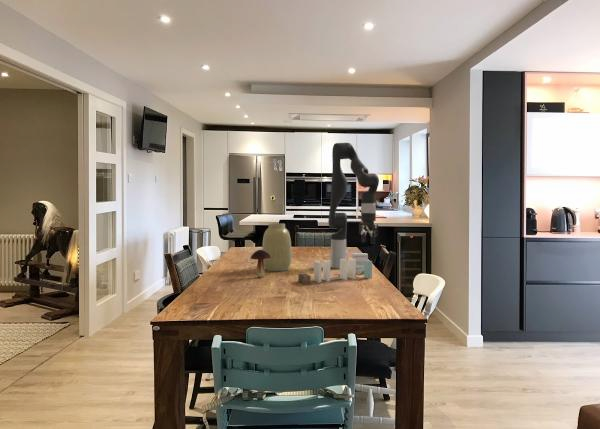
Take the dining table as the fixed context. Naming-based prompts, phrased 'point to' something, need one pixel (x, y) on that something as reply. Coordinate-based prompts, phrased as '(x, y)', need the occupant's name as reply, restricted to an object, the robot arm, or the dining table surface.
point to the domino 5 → (368, 269)
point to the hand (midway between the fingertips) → (368, 243)
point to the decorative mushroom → (260, 261)
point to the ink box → (360, 261)
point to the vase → (277, 247)
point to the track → (306, 279)
